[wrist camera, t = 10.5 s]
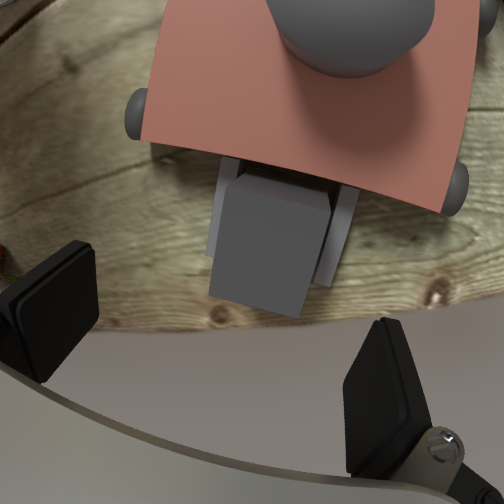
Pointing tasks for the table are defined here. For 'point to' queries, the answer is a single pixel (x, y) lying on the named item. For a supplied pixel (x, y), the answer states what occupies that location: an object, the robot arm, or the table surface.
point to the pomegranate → (0, 275)
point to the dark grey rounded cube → (269, 240)
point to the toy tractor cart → (320, 96)
